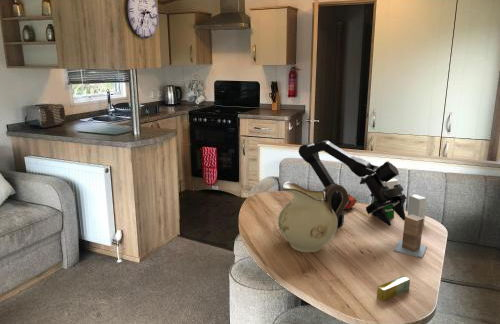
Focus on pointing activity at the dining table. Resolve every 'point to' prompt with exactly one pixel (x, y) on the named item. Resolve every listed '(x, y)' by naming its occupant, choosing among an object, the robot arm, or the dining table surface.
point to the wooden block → (412, 232)
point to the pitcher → (310, 216)
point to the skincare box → (417, 206)
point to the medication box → (393, 288)
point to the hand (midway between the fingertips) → (397, 222)
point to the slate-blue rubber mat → (405, 251)
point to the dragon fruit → (350, 202)
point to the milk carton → (389, 184)
